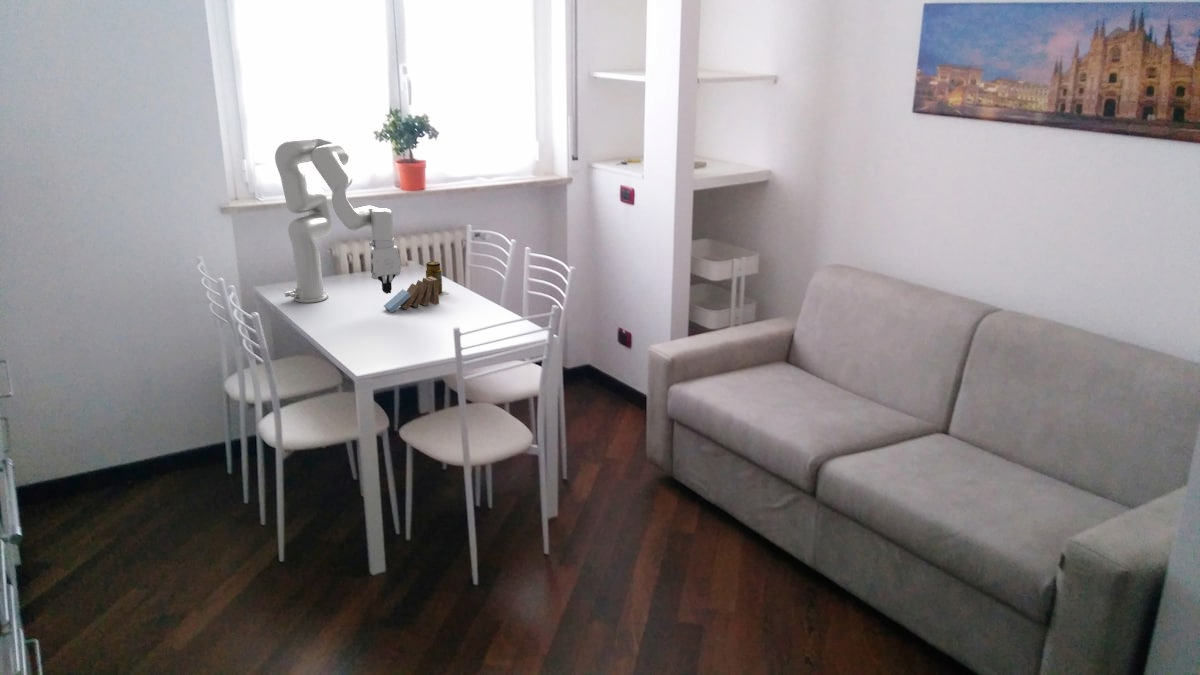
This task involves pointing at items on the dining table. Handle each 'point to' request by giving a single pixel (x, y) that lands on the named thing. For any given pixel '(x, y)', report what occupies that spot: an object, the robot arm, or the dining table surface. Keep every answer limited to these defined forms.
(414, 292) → the domino
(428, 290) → the domino
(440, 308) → the dining table surface
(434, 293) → the domino
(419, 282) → the domino
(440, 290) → the condiment
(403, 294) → the domino
